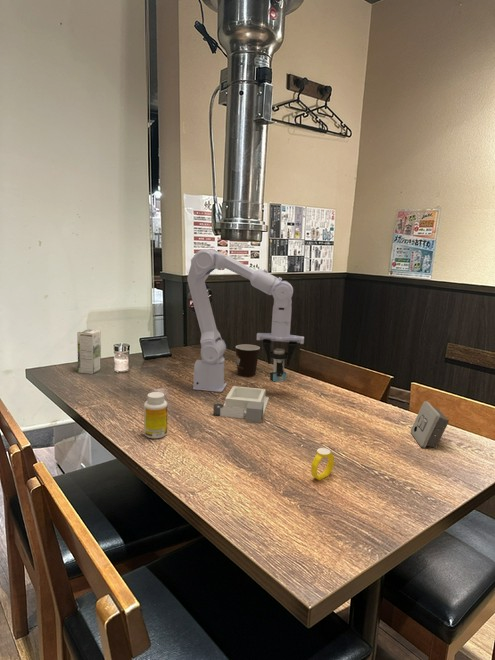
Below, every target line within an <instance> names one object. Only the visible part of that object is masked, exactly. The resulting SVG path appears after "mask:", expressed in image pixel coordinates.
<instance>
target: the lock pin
mask: <svg viewBox="0 0 495 660" xmlns="http://www.w3.org/2000/svg"><path fill="white" fill-rule="evenodd" d="M212 412H213V414H212V415H213V416H215V417H224V418H225V417H226V418H233V419H241V420H242V419H243V420H244V418H245V415H246V414H245V408H244V407H234V406H225V405H224V404H222V403H215V404H214V403H213V411H212Z"/></svg>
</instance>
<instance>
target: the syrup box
mask: <svg viewBox="0 0 495 660" xmlns="http://www.w3.org/2000/svg"><path fill="white" fill-rule="evenodd" d="M76 336H77V373H78V374H89V375H90V374H91V375H94V374H95V373H97V372H99V371H100V370H101V369H102V366H101V364H102V363H101V361H102V353H101V351H102V350H101V349H102V347H101V346H102V344H101V343H102V342H101V340H102V339H101V337H102V336H101V330H99V329H92V328H87V329H86V328H85V329H83V330H81V331H78V332H77V334H76Z"/></svg>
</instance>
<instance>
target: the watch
mask: <svg viewBox="0 0 495 660" xmlns="http://www.w3.org/2000/svg"><path fill="white" fill-rule="evenodd" d="M323 458H327V464H326V466H325V468H324V470H323V472H321V473H319V474H318V468H319V465H320V462H321V461H322V459H323ZM334 464H335V456H334V454H333V453H332V452H331V450H330V449H328V448H325V447H319V448H318V449H317V450H316V454H315V456H314V458H313V460H312V462H311V467H310V473H311V476H312V477H313V478H314V479H316V480H318V481H321V480H324V479H326V478H328V477H329V476H330V475H331V473H332V471H333V468H334V466H335V465H334Z"/></svg>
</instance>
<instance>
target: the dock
mask: <svg viewBox="0 0 495 660" xmlns="http://www.w3.org/2000/svg"><path fill="white" fill-rule="evenodd" d="M269 399H270V398H269V396H266V389H265V388H260V387H259V388H255V387H248V386H247V387H246V386H237V385H233V386H232V388H231V389H230V391H229V392H228V393H227V395H226V397H225V400H224V401H225V402H224V404H223V405H225V406H234V407H244V408H245V414H244V415H245V422H249V423H256V424H257V423H258V424H261V423H262V418H263V416H264V414H265V411H266V408H267V405H268V402H269Z"/></svg>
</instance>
